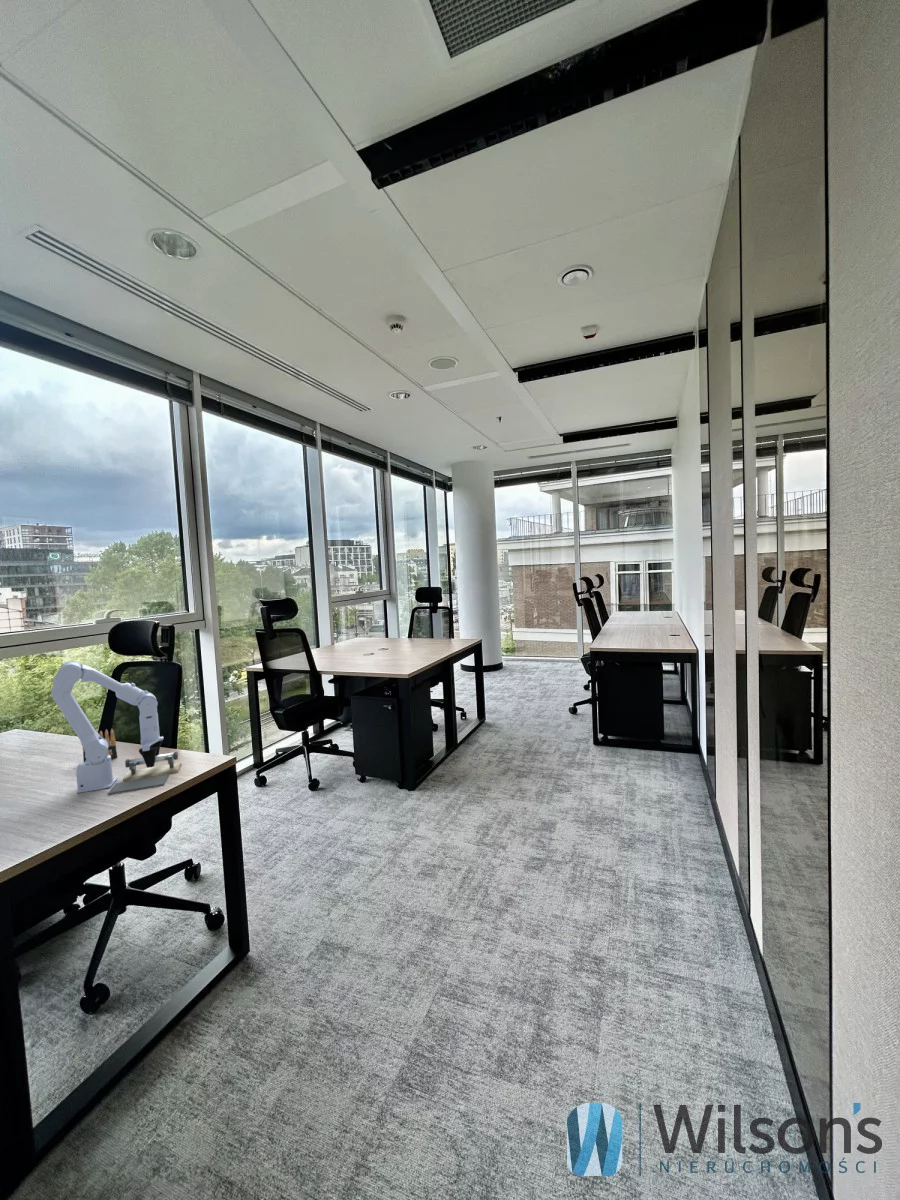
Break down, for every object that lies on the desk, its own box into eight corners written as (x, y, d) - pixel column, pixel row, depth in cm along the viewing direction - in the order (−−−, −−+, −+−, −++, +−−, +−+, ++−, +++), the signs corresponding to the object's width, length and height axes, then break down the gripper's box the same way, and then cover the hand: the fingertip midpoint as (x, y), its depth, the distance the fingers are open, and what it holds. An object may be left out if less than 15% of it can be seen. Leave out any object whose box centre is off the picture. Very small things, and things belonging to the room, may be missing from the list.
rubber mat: (108, 795, 155) (107, 793, 155) (115, 785, 162) (115, 783, 162) (163, 785, 161) (163, 783, 161) (168, 776, 168) (168, 774, 168)
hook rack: (123, 781, 165) (121, 765, 165) (128, 773, 172) (127, 758, 172) (178, 772, 171) (176, 756, 171) (181, 765, 178) (180, 750, 177)
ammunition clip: (83, 765, 182) (80, 734, 181) (83, 763, 184) (81, 733, 183) (117, 757, 188) (114, 728, 188) (117, 756, 190) (114, 727, 189)
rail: (125, 768, 167) (124, 761, 167) (127, 765, 170) (127, 758, 170) (176, 760, 173) (176, 753, 173) (178, 757, 175) (177, 750, 175)
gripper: (157, 731, 165) (160, 769, 166) (166, 719, 179) (169, 754, 180) (134, 734, 163) (137, 773, 164) (144, 722, 176) (147, 758, 177)
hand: (152, 763), depth 171 cm, fingers open, 5 cm apart
